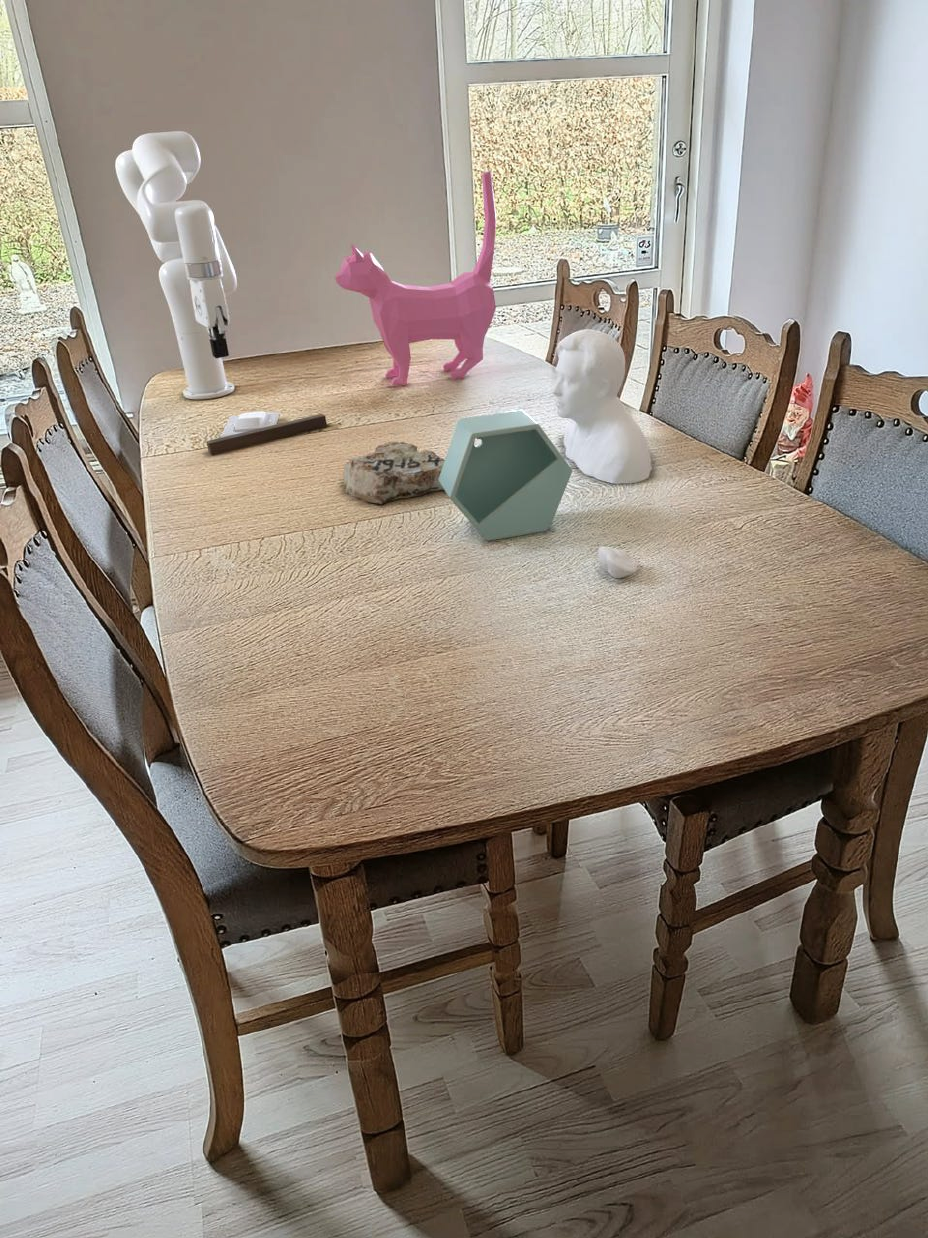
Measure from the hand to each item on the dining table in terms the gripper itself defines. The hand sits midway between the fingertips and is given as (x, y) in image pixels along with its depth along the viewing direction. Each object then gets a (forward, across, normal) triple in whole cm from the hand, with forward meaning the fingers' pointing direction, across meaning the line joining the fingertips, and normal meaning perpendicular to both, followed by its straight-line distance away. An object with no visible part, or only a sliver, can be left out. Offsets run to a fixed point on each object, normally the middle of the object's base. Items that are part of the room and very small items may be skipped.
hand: (221, 356), depth 193 cm
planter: (+10, +92, +13) cm, 94 cm away
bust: (+11, +78, +44) cm, 90 cm away
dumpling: (+9, +115, +16) cm, 117 cm away
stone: (+11, +61, +9) cm, 63 cm away
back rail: (+12, +24, 0) cm, 27 cm away
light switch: (+13, +14, -1) cm, 19 cm away
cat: (+13, +6, +49) cm, 51 cm away
